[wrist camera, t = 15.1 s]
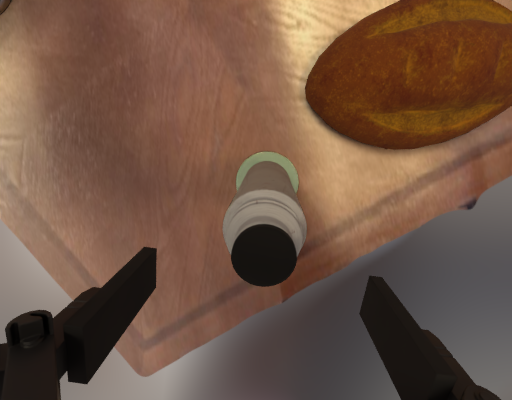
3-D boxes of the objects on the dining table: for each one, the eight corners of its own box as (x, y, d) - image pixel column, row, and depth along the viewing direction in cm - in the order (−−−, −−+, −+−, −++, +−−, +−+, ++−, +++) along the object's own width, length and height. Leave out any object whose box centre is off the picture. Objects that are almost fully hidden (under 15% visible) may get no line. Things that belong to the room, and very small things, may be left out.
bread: (303, 12, 40) (317, -39, 28) (532, -5, 38) (653, -67, 26) (303, 152, 45) (315, 160, 33) (503, 144, 43) (592, 150, 31)
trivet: (239, 147, 46) (239, 147, 45) (302, 155, 45) (303, 155, 45) (233, 207, 48) (233, 209, 48) (293, 215, 48) (293, 216, 48)
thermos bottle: (248, 208, 48) (220, 312, 21) (240, 164, 46) (197, 216, 19) (292, 201, 47) (323, 300, 20) (286, 157, 45) (311, 199, 18)
